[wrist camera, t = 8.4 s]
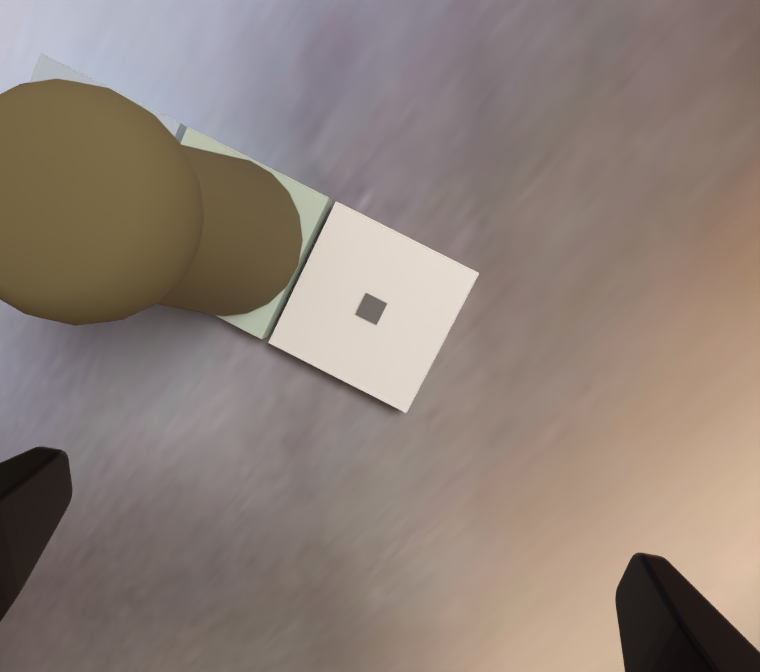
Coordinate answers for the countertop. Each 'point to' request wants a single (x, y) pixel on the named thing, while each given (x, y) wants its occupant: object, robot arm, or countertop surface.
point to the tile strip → (345, 286)
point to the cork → (130, 213)
